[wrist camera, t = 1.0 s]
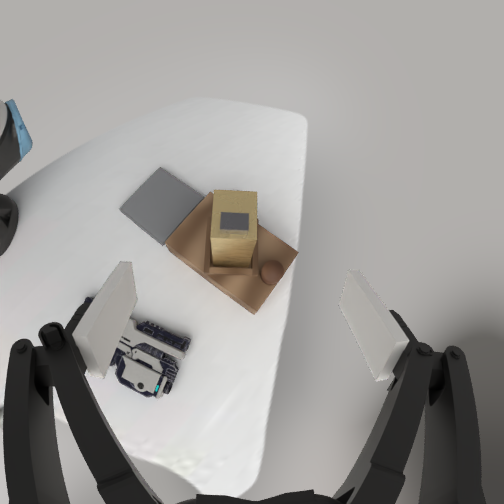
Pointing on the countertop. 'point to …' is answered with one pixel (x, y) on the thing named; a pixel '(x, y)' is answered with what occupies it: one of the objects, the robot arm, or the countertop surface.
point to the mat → (161, 205)
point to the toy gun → (147, 357)
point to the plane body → (231, 278)
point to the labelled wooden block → (233, 227)
